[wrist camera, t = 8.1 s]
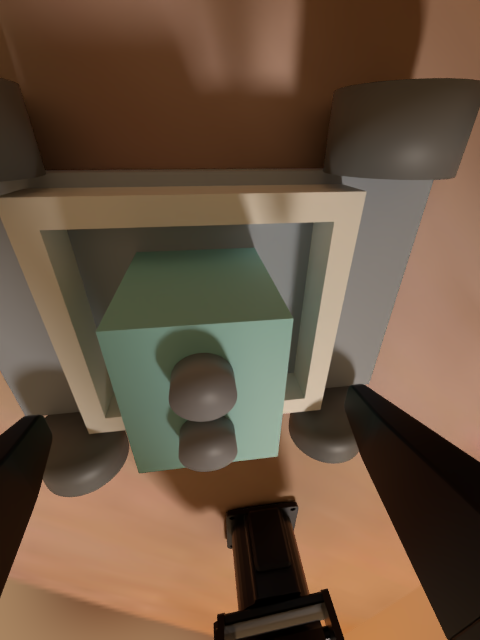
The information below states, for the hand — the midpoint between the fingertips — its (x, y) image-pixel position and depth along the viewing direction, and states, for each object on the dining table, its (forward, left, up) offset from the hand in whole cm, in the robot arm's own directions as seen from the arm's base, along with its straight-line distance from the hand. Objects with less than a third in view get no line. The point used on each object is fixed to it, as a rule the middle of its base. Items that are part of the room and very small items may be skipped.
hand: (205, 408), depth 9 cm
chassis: (0, 0, -7) cm, 7 cm away
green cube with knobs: (0, 0, -6) cm, 6 cm away
